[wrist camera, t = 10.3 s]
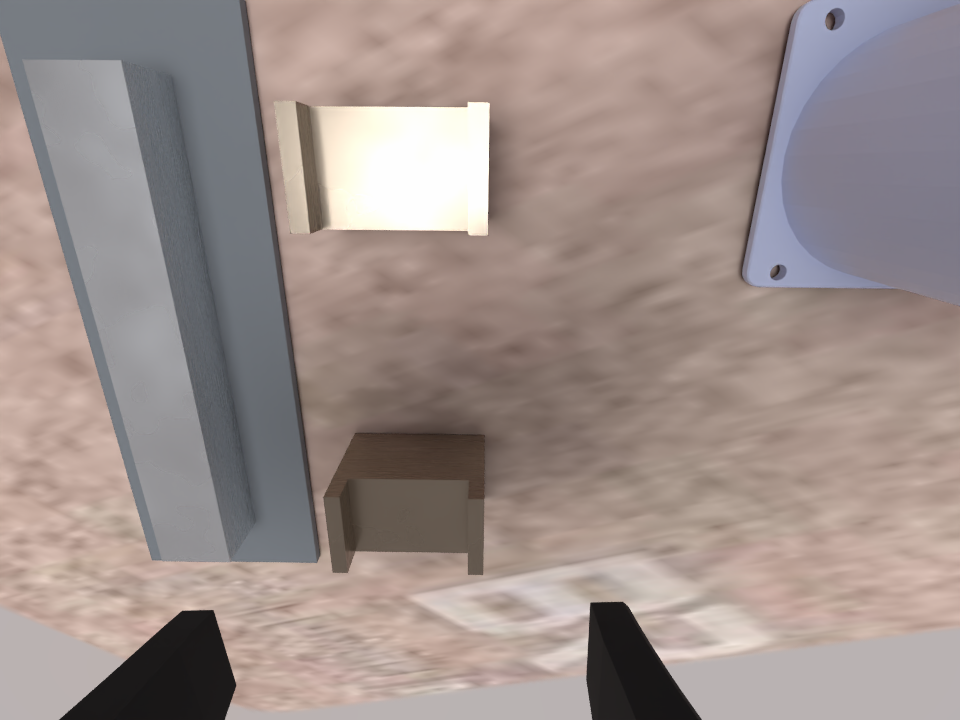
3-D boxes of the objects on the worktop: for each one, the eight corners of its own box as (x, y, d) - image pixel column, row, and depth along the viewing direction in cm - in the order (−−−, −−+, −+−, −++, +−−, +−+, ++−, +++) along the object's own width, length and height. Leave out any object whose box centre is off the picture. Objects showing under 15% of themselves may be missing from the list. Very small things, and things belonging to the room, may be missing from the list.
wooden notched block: (488, 118, 15) (489, 102, 11) (487, 220, 16) (487, 235, 13) (325, 117, 15) (273, 100, 12) (335, 219, 16) (290, 233, 13)
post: (484, 435, 19) (484, 499, 15) (483, 499, 20) (483, 574, 16) (354, 433, 19) (323, 497, 15) (361, 498, 20) (332, 572, 17)
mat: (244, 0, 14) (238, -4, 14) (320, 555, 21) (316, 562, 21) (1, -1, 14) (-12, -6, 14) (157, 553, 21) (151, 560, 21)
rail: (172, 75, 15) (121, 60, 12) (256, 522, 20) (230, 561, 18) (87, 75, 15) (21, 59, 13) (194, 521, 20) (162, 561, 18)
